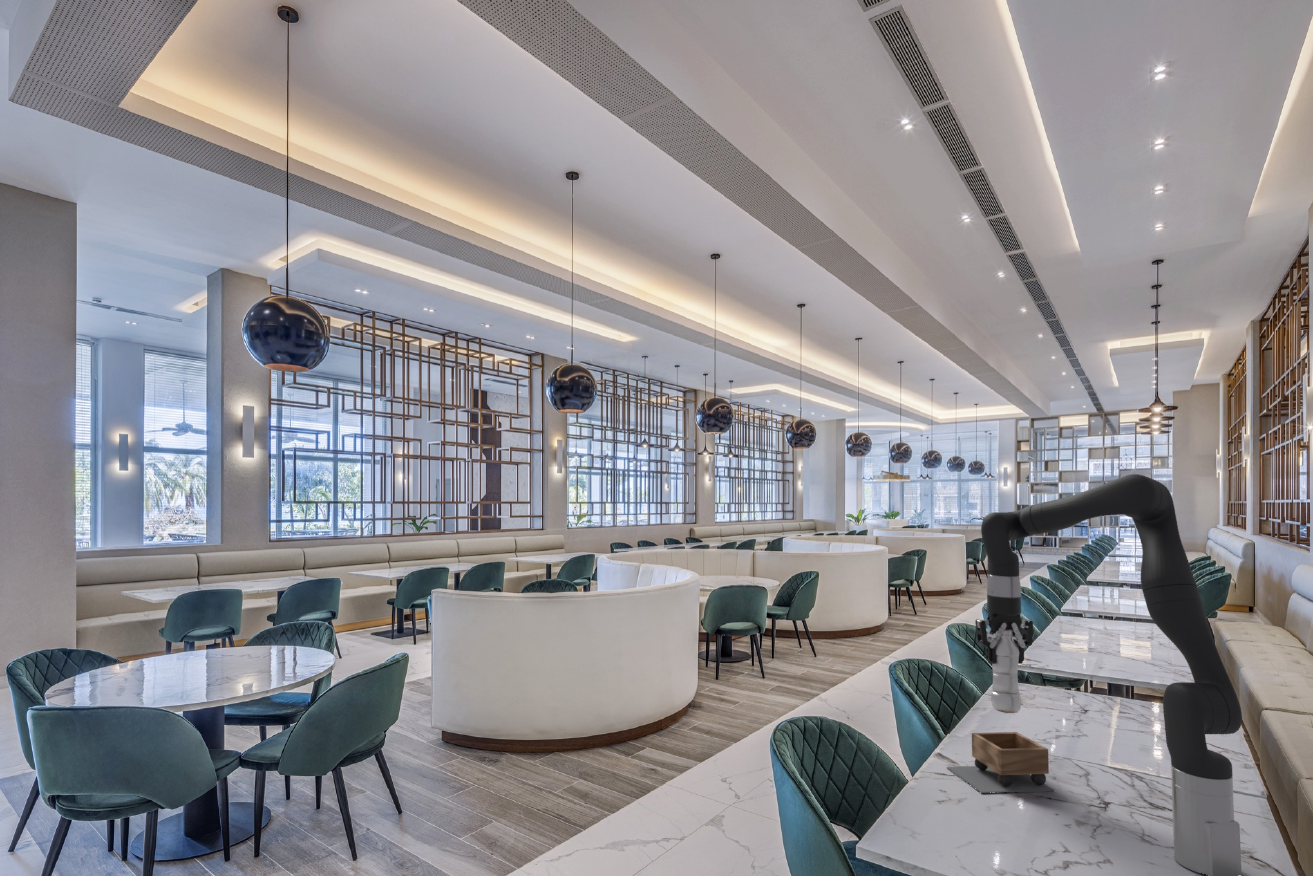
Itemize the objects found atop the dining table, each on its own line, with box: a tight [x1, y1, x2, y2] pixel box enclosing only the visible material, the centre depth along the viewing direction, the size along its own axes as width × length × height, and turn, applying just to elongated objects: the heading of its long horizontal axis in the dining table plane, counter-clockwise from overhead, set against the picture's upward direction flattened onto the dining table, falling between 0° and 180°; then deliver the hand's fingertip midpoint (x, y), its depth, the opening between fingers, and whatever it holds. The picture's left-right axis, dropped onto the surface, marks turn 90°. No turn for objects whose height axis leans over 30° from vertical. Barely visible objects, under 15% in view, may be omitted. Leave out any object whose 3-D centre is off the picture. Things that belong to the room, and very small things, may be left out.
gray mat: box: [946, 765, 1055, 794], centre depth 172 cm, size 15×18×1 cm
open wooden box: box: [971, 731, 1050, 786], centre depth 173 cm, size 12×12×8 cm
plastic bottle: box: [990, 629, 1022, 714], centre depth 174 cm, size 6×7×20 cm
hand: (1005, 662), depth 174 cm, fingers closed on plastic bottle, 6 cm apart
